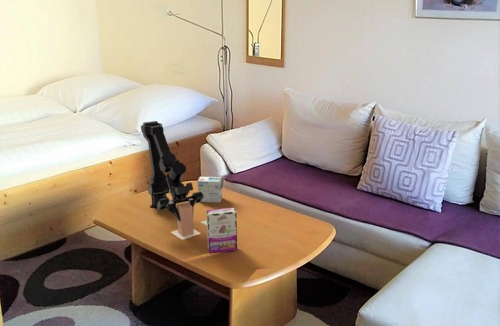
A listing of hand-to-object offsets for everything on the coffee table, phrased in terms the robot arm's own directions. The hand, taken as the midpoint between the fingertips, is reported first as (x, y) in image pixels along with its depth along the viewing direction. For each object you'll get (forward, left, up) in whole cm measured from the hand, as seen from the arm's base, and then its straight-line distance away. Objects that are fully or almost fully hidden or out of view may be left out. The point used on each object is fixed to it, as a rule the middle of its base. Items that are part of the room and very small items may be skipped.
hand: (186, 219), depth 221 cm
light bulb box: (-10, +37, -7) cm, 39 cm away
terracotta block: (-1, +1, -6) cm, 7 cm away
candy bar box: (+18, -5, -7) cm, 20 cm away
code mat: (+2, +8, -7) cm, 11 cm away
